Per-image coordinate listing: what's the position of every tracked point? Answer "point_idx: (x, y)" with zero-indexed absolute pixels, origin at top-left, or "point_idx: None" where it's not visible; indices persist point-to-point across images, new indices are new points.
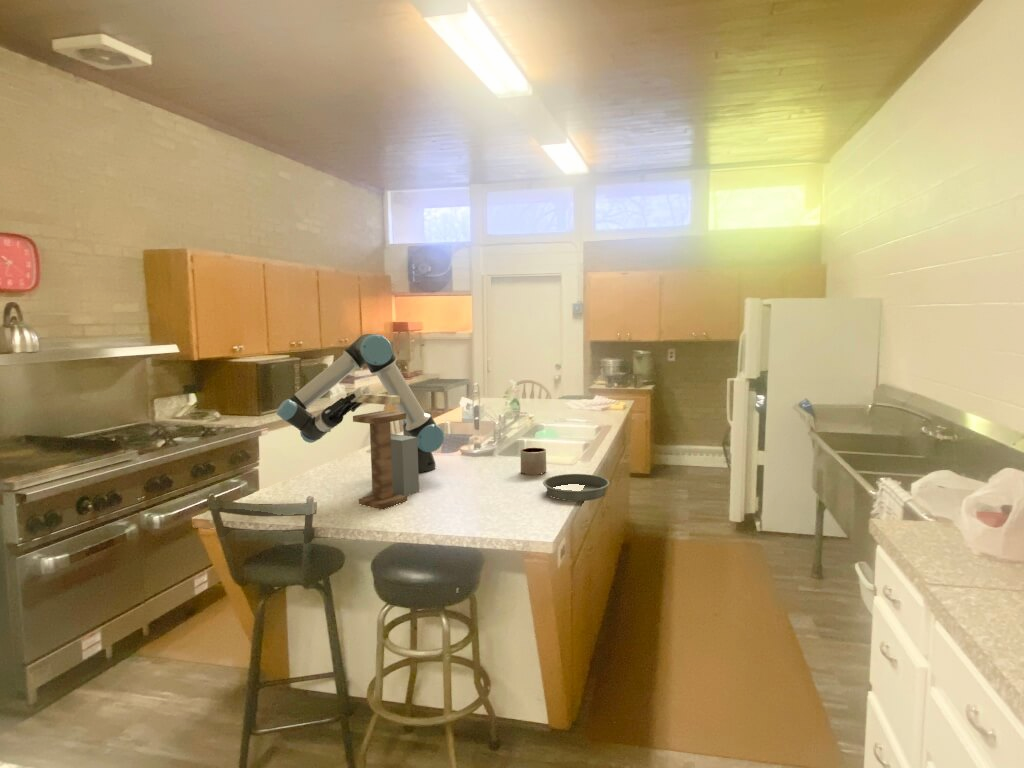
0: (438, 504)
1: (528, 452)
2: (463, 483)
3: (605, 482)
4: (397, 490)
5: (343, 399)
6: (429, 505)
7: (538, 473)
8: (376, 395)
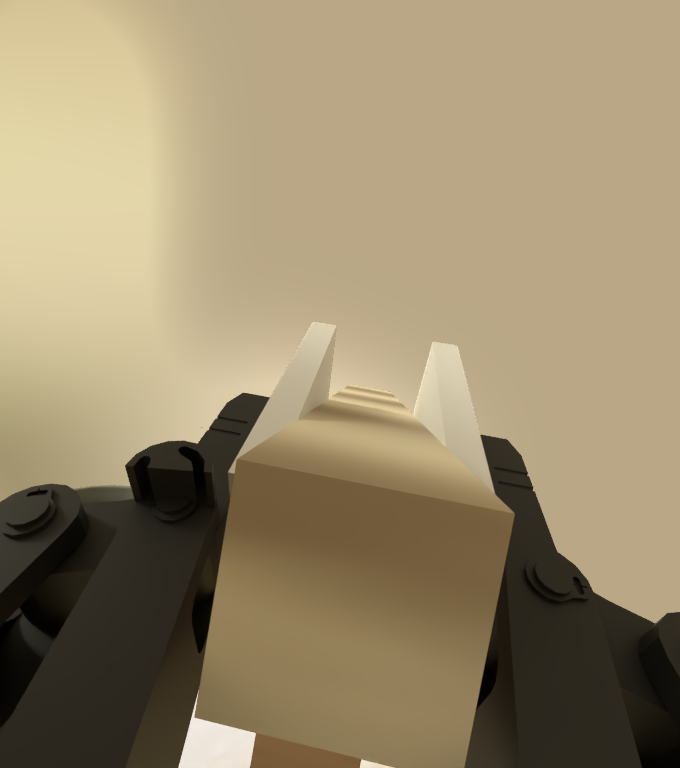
0: (219, 731)
1: None
2: None
3: (97, 491)
4: None
5: (651, 632)
6: (236, 755)
7: None
8: (398, 400)
